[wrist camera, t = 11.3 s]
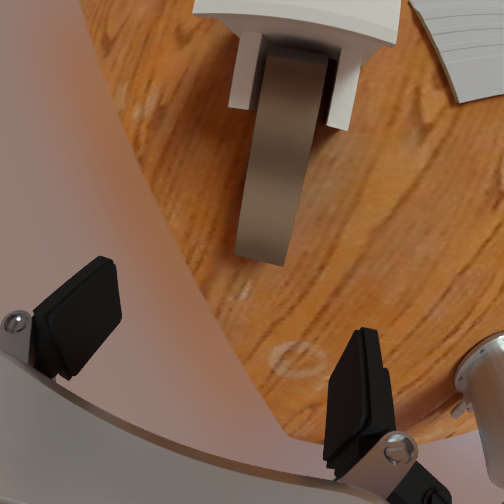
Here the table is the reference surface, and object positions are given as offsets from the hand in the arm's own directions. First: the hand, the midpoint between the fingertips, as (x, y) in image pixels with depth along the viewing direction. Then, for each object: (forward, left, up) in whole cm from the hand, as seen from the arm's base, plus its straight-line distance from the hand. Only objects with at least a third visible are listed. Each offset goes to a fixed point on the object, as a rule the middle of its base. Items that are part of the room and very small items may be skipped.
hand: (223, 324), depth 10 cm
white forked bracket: (+12, 0, -18) cm, 22 cm away
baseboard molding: (+27, -23, -19) cm, 40 cm away
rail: (+4, 0, -18) cm, 19 cm away
